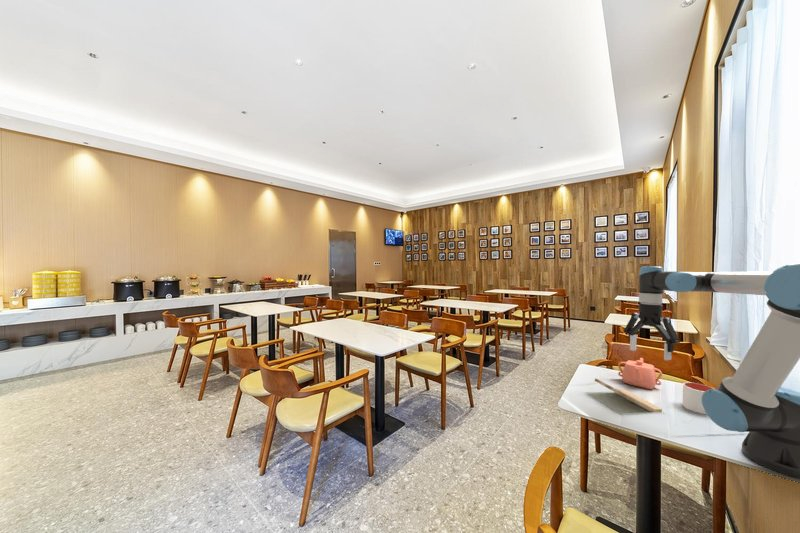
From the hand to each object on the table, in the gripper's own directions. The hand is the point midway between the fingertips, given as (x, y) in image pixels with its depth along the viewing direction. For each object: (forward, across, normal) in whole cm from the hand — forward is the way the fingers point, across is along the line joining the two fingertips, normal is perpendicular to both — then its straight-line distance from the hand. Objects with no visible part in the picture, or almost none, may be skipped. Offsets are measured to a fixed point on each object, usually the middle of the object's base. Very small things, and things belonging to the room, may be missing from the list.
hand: (649, 354), depth 126 cm
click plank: (+19, +6, +7) cm, 21 cm away
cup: (+23, -5, -20) cm, 31 cm away
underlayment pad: (+23, +6, +6) cm, 24 cm away
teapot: (+22, +19, -20) cm, 36 cm away
